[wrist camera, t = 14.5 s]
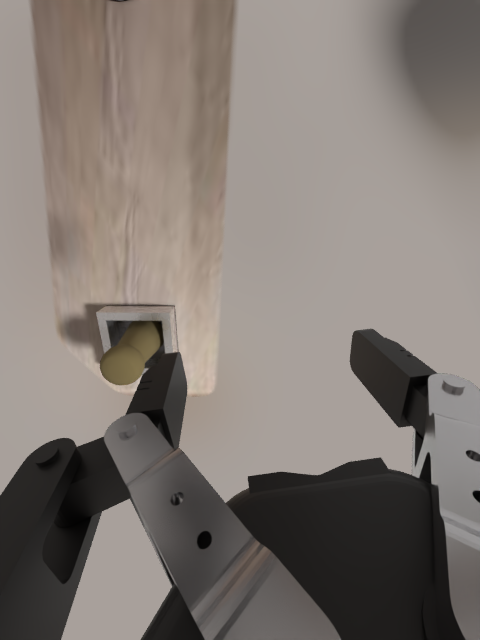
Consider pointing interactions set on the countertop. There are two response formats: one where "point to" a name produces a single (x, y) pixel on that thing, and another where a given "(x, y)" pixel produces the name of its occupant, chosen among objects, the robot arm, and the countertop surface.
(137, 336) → the cork
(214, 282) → the countertop surface
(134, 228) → the countertop surface
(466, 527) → the robot arm
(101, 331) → the grey shallow square box
